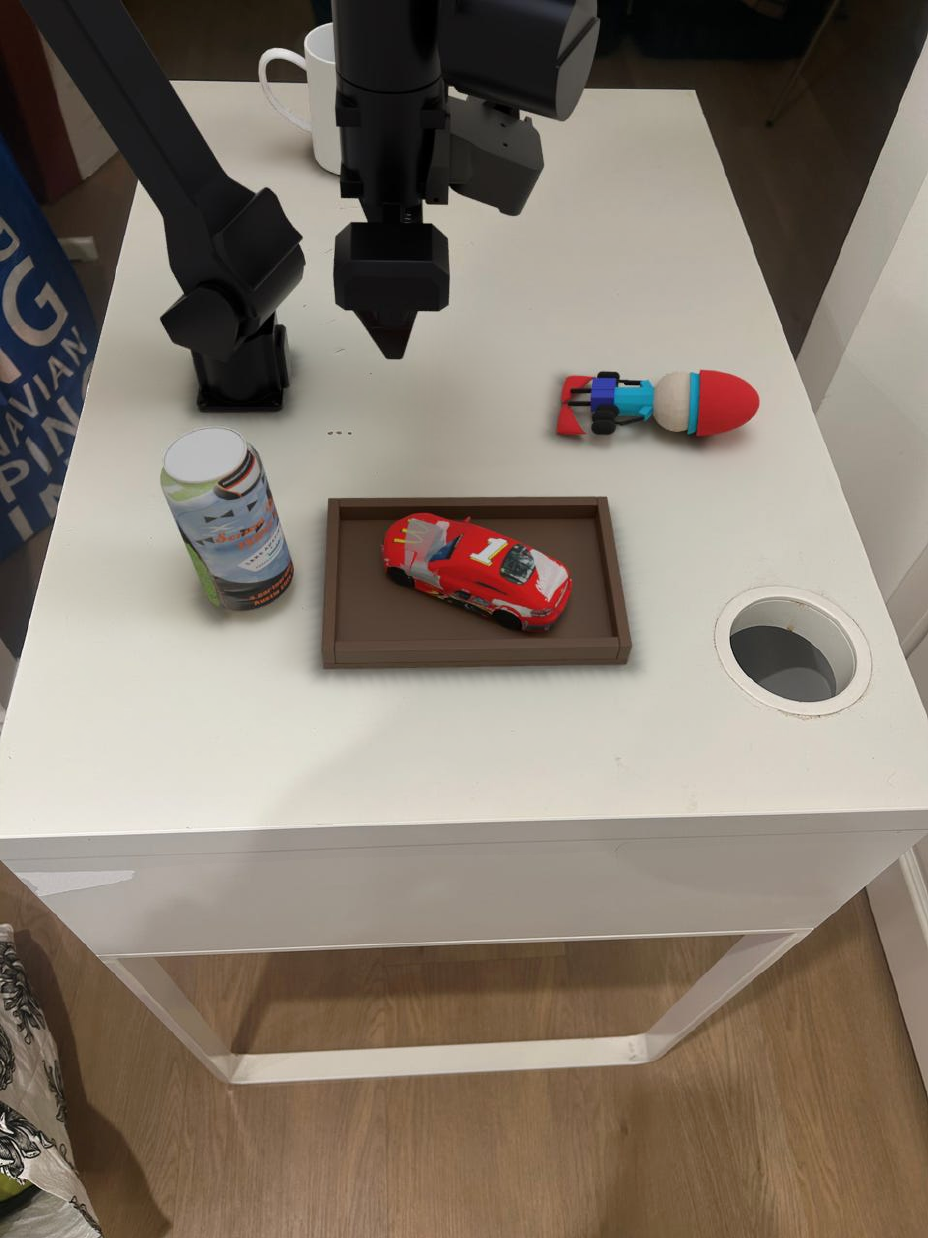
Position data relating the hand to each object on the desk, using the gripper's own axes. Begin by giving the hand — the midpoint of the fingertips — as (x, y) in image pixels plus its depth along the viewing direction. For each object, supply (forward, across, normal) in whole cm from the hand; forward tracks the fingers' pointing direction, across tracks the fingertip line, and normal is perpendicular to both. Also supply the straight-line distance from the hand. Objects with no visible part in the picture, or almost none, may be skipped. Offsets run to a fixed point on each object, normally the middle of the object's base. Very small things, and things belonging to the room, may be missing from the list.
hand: (394, 310), depth 64 cm
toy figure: (+12, +2, -20) cm, 23 cm away
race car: (+12, -14, -5) cm, 19 cm away
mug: (+12, +38, +6) cm, 40 cm away
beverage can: (+12, -13, +10) cm, 21 cm away
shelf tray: (+12, -14, -5) cm, 19 cm away
